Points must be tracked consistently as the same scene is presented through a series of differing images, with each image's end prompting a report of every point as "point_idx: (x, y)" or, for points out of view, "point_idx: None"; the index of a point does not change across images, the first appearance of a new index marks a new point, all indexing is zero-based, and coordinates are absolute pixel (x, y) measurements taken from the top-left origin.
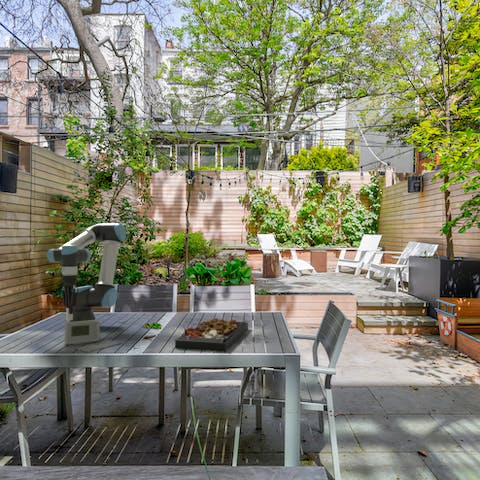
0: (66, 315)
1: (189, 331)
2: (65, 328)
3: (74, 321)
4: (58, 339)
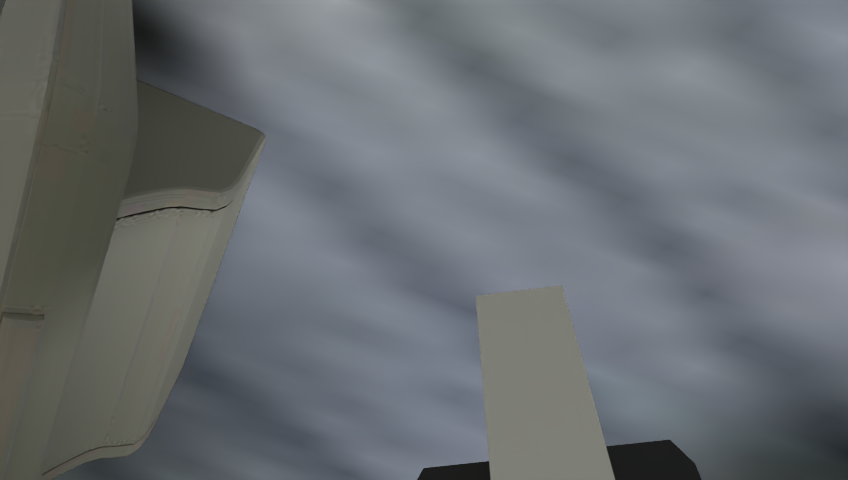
0: (571, 374)
1: None
2: (35, 24)
3: (3, 319)
4: (628, 8)
